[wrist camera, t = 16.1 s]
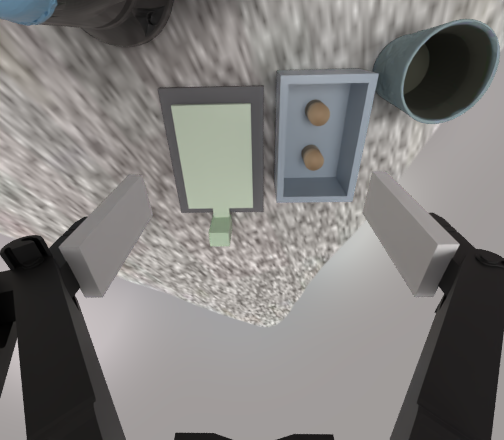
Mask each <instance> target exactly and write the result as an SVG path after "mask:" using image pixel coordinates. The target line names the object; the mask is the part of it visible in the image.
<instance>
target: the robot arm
mask: <svg viewBox="0 0 504 440" xmlns="http://www.w3.org/2000/svg"><path fill="white" fill-rule="evenodd" d="M172 6H173V0H0V19H4V20H8V21H11V22H15V23H18V24H22V25H23V24H24V25H27V26H29V25H33V24H34V25H38V24H42V25H55V26H68V27H80V28H82V29H83V30H84V31H85V32H86V33H88V34H89V35H91V36H93V37H94V38H96V39H98V40H100V41H102V42H105V43H108V44H111V45H115V46H137V45H141V44H144V43H146V42H149V41H150V40H152V39H153V38H154V37H156V36H157V35H158V34H159V33H160V32H161V30H162V29H163V28H164V26H165V24H166V23H167V21H168V18H169V16H170V13H171V10H172ZM363 215H364V216H365V218H366V219H367V221H368V223H369V224H370V226H371V227H372V229H373V231H374V232H375V234H376V236H377V237H378V239H379V240H380V242H381V244H382V245H383V247H384V248H385V250H386V252H387V253H388V255H389V257H390V258H391V260H392V261H393V263H394V265H395V266H396V268H397V269H398V271H399V273H400V274H401V276H402V278H403V279H404V281H405V282H406V284H407V286H408V287H409V289H410V290H411V292H412V294H413V295H414V297H433V296H434V294H435V292H436V291H437V289H438V287H440V288H441V290H442V291H443V292H444V296H443V297H442V299H441V301H440V303H439V305H438V307H437V309H436V311H435V313H436V315H435V318H434V321H433V323H432V326H431V329H430V332H429V334H428V337H427V340H426V342H425V345H424V348H423V351H422V353H421V356H420V359H419V361H418V364H417V367H416V370H415V372H414V375H413V378H412V380H411V383H410V386H409V389H408V391H407V394H406V397H405V400H404V402H403V405H402V407H401V410H400V413H399V416H398V418H397V421H396V424H395V427H394V429H393V432H392V435H391V437H390V440H491V435H492V427H493V418H494V410H495V402H496V392H497V384H498V375H499V367H500V358H501V350H502V342H503V332H504V258H502V257H501V256H499V255H497V254H495V253H492V252H489V251H486V250H482V249H475V248H474V247H473V246H472V245H471V244H470V243H469V242H468V241H467V240H466V239H465V238H464V237H463V236H462V235H461V234H460V233H458V232H457V231H456V230H455V229H454V228H453V227H451V225H450V224H449V223H448V222H447V221H446V220H445V219H443V218H442V217H439V216H438V215H436V214H434V213H428V212H427V211H426V210H425V209H424V208H423V207H422V206H421V205H419V203H418V202H417V201H416V200H415V199H414V198H412V196H411V195H409V193H408V192H407V191H406V190H404V188H402V186H401V185H400V184H398V182H396V181H395V180H394V179H393V178H392V177H391V176H390V175H389V174H388V173H387V172H386V171H372V175H371V179H370V183H369V187H368V192H367V196H366V200H365V204H364V209H363ZM152 216H153V213H152V209H151V206H150V202H149V198H148V194H147V190H146V187H145V183H144V179H143V175H142V174H136V175H128V176H127V177H126V178H125V179H124V180H123V181H122V182H121V183H120V185H119V186H118V187H117V188H116V189H115V190H114V191H113V192H112V193H111V194H110V195H109V196H108V197H107V198H106V199H105V200H104V201H103V202H102V203H101V204H100V205H99V206H98V207H97V208H96V209H95V210H94V211H93V212H92V213H91V214H90V215H89V216H88V217H84V218H82V219H80V220H79V221H77V222H75V223H74V224H73V225H72V226H71V227H70V228H69V229H68V231H66V232H65V233H64V234H63V236H61V237H60V238H59V239H58V240H57V241H56V242H55V243H54V244H53V245H52V246H51V247H50V248H48V246H47V244H46V243H45V241H44V239H43V238H42V237H41V236H37V235H32V236H26V237H22V238H19V239H16V240H14V241H12V242H10V243H8V244H7V245H5V246H4V247H3V248H2V249H1V251H0V255H1V257H2V258H3V259H4V261H5V262H6V264H7V265H8V267H9V268H10V270H8V271H3V272H0V397H1V393H2V390H3V386H4V383H5V379H6V376H7V372H8V369H9V365H10V361H11V357H12V354H13V351H14V347H15V343H16V340H17V338H18V348H19V358H20V370H21V380H22V391H23V401H24V413H25V423H26V434H27V440H126V438H125V436H124V433H123V430H122V427H121V424H120V421H119V418H118V415H117V412H116V410H115V407H114V404H113V401H112V398H111V395H110V392H109V390H108V386H107V384H106V381H105V378H104V375H103V372H102V369H101V366H100V363H99V361H98V358H97V355H96V352H95V349H94V346H93V343H92V340H91V338H90V335H89V332H88V329H87V326H86V323H85V321H84V317H83V315H82V312H81V309H80V306H79V303H78V300H77V298H76V297H75V293H76V292H77V291H78V290H79V288H80V289H81V291H82V293H83V294H84V296H85V297H103V296H104V294H105V293H106V291H107V289H108V288H109V286H110V284H111V283H112V281H113V280H114V278H115V276H116V275H117V273H118V271H119V270H120V268H121V266H122V265H123V263H124V262H125V260H126V258H127V257H128V255H129V253H130V252H131V250H132V248H133V247H134V245H135V244H136V242H137V240H138V239H139V237H140V235H141V234H142V232H143V230H144V229H145V227H146V225H147V224H148V222H149V221H150V219H151V217H152ZM174 440H232V439H229V438H226V437H223V436H220V435H217V434H214V433H175V438H174ZM277 440H334V437H333V435H330V434H293V435H290V436H287V437H283V438H280V439H277Z"/></svg>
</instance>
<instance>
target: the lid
mask: <svg viewBox="0 0 504 440" xmlns="http://www.w3.org/2000/svg"><path fill="white" fill-rule="evenodd" d="M171 110H172V116H173V121H174V127H175V133H176V138H177V144H178V150H179V156H180V161H181V167H182V173H183V178H184V184H185V190H186V196H187V201H188V207H189V209H206V208H213V218H212V221H211V225H210V229H209V240H210V246H230V240H231V233H232V217H231V215H230V208H253V181H252V139H251V103H222V104H175V105H171Z"/></svg>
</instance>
